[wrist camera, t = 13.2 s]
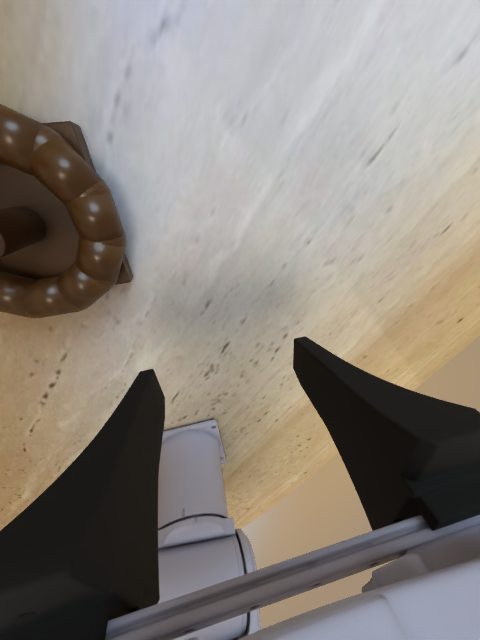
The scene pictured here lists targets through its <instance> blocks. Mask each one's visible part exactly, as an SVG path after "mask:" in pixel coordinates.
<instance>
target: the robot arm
mask: <svg viewBox="0 0 480 640" xmlns="http://www.w3.org/2000/svg"><path fill="white" fill-rule="evenodd" d="M293 369H294V371H295V373H296V375H297V378H298V380H299V382H300V384H301V386H302V388H303V389H304V391H305V393H306V394H307V396H308V397H309V399H310V401H311V402H312V404H313V406H314V407H315V409H316V410H317V412H318V414H319V415H320V417H321V418H322V420H323V422H324V423H325V425H326V427H327V429H328V431H329V433H330V435H331V437H332V439H333V441H334V443H335V445H336V447H337V449H338V451H339V453H340V455H341V457H342V460H343V462H344V464H345V466H346V468H347V470H348V473H349V475H350V477H351V479H352V482H353V484H354V486H355V489H356V491H357V493H358V496H359V498H360V500H361V503H362V505H363V508H364V510H365V513H366V515H367V517H368V520H369V522H370V525H371V528H372V530H373V531H371V532H368V533H366V534H362V535H359V536H357V537H354V538H351V539H348V540H345V541H342V542H339V543H336V544H333V545H330V546H327V547H324V548H321V549H318V550H315V551H312V552H309V553H306V554H304V555H301V556H298V557H295V558H292V559H289V560H286V561H283V562H280V563H277V564H274V565H271V566H268V567H265V568H262V569H260V570H257V568H256V562H255V558H254V554H253V550H252V547H251V544H250V541H249V539H248V538H247V536H246V535H245V534H244V533H243V531H242V530H241V529H235V525H234V519H233V518H228V511H227V504H226V497H225V489H224V482H223V475H222V468H221V464H224V463H225V462H226V458H225V454H224V450H223V445H222V441H221V437H220V433H219V429H218V425H217V421H216V420H209V421H205V422H201V423H197V424H193V425H189V426H184V427H180V428H176V429H172V430H168V431H164V432H163V430H164V420H165V397H164V395H163V392H162V390H161V387H160V385H159V382H158V380H157V377H156V375H155V372H154V370H153V369H150V370H146V371H141V372H140V373H139V374H138V376H137V377H136V379H135V380H134V382H133V384H132V385H131V387H130V388H129V390H128V392H127V393H126V395H125V396H124V398H123V399H122V401H121V402H120V404H119V405H118V407H117V408H116V410H115V411H114V413H113V414H112V415H111V417H110V418H109V419H108V421H107V422H106V423H105V425H104V426H103V428H102V429H101V430H100V431H99V433H98V434H97V435H96V436H95V438H94V439H93V440H92V441H91V443H90V444H89V445H88V446H87V447H86V448H85V450H84V451H83V452H82V453H81V454H80V455H79V456H78V457H77V458H76V460H75V461H74V462H73V463H72V464H71V465H70V466H69V467H68V468H67V469H66V470H65V471H64V472H63V473H62V474H61V475H60V476H59V477H58V478H57V479H56V480H55V481H54V482H53V483H52V484H51V485H50V486H49V487H48V488H47V489H46V490H45V491H44V492H43V493H42V494H41V495H40V496H39V497H38V498H37V499H36V500H35V501H34V502H33V503H31V504H30V505H29V506H28V507H27V508H26V509H25V510H24V511H23V512H22V513H21V514H19V515H18V516H17V517H16V518H15V519H14V520H13V521H11V522H10V523H9V524H8V525H7V526H6V527H4V528H3V529H2V530H1V531H0V640H480V413H479V412H478V411H477V410H476V409H473V408H470V407H465V406H462V405H458V404H454V403H450V402H446V401H443V400H439V399H436V398H433V397H429V396H426V395H423V394H420V393H417V392H414V391H411V390H408V389H405V388H403V387H400V386H397V385H395V384H392V383H390V382H387V381H385V380H382V379H380V378H378V377H376V376H374V375H371V374H369V373H367V372H365V371H363V370H361V369H359V368H357V367H355V366H353V365H351V364H350V363H348V362H346V361H344V360H342V359H341V358H339V357H337V356H336V355H334V354H332V353H331V352H329V351H327V350H326V349H324V348H323V347H321V346H320V345H318V344H316V343H315V342H313V341H312V340H310V339H308V338H307V337H300V338H296V339H294V359H293ZM397 558H398V559H397ZM395 559H396V560H395ZM392 560H394V561H392ZM389 561H392V562H390V563H388V564H386V565H384V566H382V567H380V568H378V569H376V570H375V571H373V572H372V578H371V580H370V581H369V582H368V583H367V584H365V585H364V586H363V587H362V593H361V594H358V595H355V596H352V597H348V598H345V599H342V600H339V601H336V602H333V603H331V604H328V605H325V606H322V607H319V608H316V609H313V610H311V611H308V612H306V613H303V614H300V615H298V616H295V617H292V618H289V619H287V620H284V621H282V622H279V623H277V624H274V625H272V626H269V627H267V628H264V629H262V630H260V618H259V617H260V616H259V614H260V608H262V607H264V606H267V605H270V604H273V603H276V602H278V601H281V600H284V599H287V598H289V597H292V596H295V595H298V594H300V593H303V592H306V591H309V590H312V589H314V588H317V587H320V586H323V585H325V584H328V583H331V582H334V581H336V580H339V579H342V578H345V577H347V576H350V575H353V574H356V573H359V572H361V571H364V570H367V569H369V568H372V567H375V566H378V565H381V564H384V563H386V562H389Z"/></svg>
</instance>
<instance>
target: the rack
mask: <svg viewBox="0 0 480 640" xmlns="http://www.w3.org/2000/svg"><path fill="white" fill-rule="evenodd" d="M41 124H44V125H46V126H48V127H50V128H52V129H53V130H55V131H56V132H58V133H59V134H60V135H61V136H62V137H63V138H64V139H65V140H66V141H67V142H68V143H69V144H70V145H71V146H72V147H73V148H74V150H75V151H76V152H77V153H78V154H79V155H80V156H81V157H82V158H83V159H84V160H85V161H86V163H87V164H88V165H89V166H90V167H91V168H92V169H93V170H94V171H95V168H94V166H93V163H92V160H91V157H90V155H89V152H88V149H87V146H86V143H85V141H84V138H83V135H82V132H81V129H80V127H79V126H78V125H76V124H75V123H73V122H71V121H66V122H53V123H41ZM95 172H96V171H95ZM78 241H79V235H78V233H77V231H76V229H75V226H74V224H73V222H72V220H71V218H70V215H69V213H68V211H67V209H66V206H65V205H64V204H63V203H62V202H61V201H60V200H59V199H58V198H57V197H56V196H55V195H54V194H53V193H51V192H50V191H49V190H48V189H47V188H46V187H45V186H44V185H43V184H42V183H41V182H40V181H39V180H37V179H36V178H35V177H34V176H32V175H30V174H27V173H25V172H22V171H20V170H17V169H15V168H12V167H10V166H7V165H5V164H2V163H0V270H2V271H3V272H7V273H11V274H15V275H19V276H22V277H26V278H30V279H34V280H37V279H44V278H50V277H57V276H60V275H62V274H63V273H64V272H65V271H66V270H67V269H68V268H69V267H70V266H71V265H73V264H74V263H75V262H76V256H77V248H78ZM132 278H133V274H132V272H131V269H130V266H129V263H128V260H127V258H126V255H125V252H124V255H123V260H122V264H121V269H120V273H119V277H118V280H117V282H116V284H122V283H128V282H131V280H132ZM116 284H115V285H116Z"/></svg>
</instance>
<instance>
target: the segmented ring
mask: <svg viewBox="0 0 480 640" xmlns="http://www.w3.org/2000/svg"><path fill="white" fill-rule="evenodd" d="M0 163H2V164H5V165H7V166H10V167H12V168H15V169H17V170H20V171H22V172H25V173H27V174H30V175H32V176H34V177H35V178H36V179H37V180H39V181H40V182H41V183H42V184H43V185H44V186H45V187H46V188H47V189H48V190H49V191H50V192H51V193H53V194H54V195H55V196H56V197H57V198H58V199H59V200H60V201H61V202H62V203H63V204H64V205H65V206H66V209H67V211H68V213H69V215H70V218H71V220H72V222H73V224H74V226H75V229H76V231H77V233H78V235H79V241H78V248H77V256H76V262H75V263H74V264H73V265H71V266H70V267H69V268H68V269H67V270H66V271H65V272H64V273H63V274H62V275H60V276H57V277H50V278H44V279H37V280H34V279H30V278H26V277H22V276H19V275H15V274H11V273H7V272H3V271H2V270H0V311H1V312H6V313H10V314H15V315H20V316H24V317H29V318H44V317H49V316H55V315H61V314H66V313H72V312H78V311H82V310H84V309H86V308H88V307H89V306H91V305H92V304H93V303H94V302H95V301H96V300H98V299H99V298H100V297H101V296H102V295H103V294H105V293H106V292H107V291H108V290H109V289H110V288H112V287H113V286H114V285H115V284H116V282H117V280H118V277H119V273H120V269H121V264H122V260H123V255H124V251H125V246H126V236H125V233H124V230H123V227H122V224H121V221H120V218H119V215H118V212H117V209H116V206H115V203H114V200H113V198H112V195H111V192H110V190H109V188H108V186H107V185H106V183H105V182H104V181H103V180H102V179H101V178H100V177H99V175H98V174H97V173H96V172H95V171H94V170H93V169H92V168H91V167H90V166H89V165H88V164H87V163H86V161H85V160H84V159H83V158H82V157H81V156H80V155H79V154H78V153H77V152H76V151H75V150H74V148H73V147H72V146H71V145H70V144H69V143H68V142H67V141H66V140H65V139H64V138H63V137H62V136H61V135H60V134H59V133H58V132H56V131H55V130H53V129H52V128H50V127H48V126H46V125H44V124H41V123H39V122H37V121H35V120H33V119H31V118H29V117H27V116H25V115H22V114H20V113H18V112H16V111H14V110H12V109H10V108H8V107H5V106H3V105H1V104H0Z"/></svg>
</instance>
